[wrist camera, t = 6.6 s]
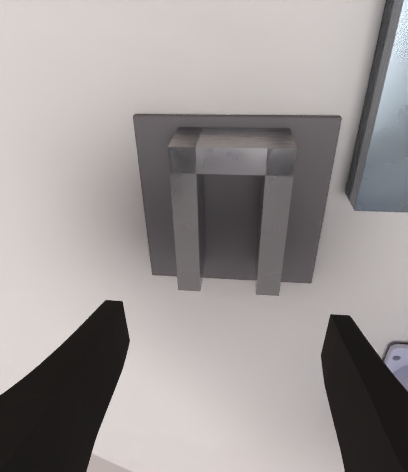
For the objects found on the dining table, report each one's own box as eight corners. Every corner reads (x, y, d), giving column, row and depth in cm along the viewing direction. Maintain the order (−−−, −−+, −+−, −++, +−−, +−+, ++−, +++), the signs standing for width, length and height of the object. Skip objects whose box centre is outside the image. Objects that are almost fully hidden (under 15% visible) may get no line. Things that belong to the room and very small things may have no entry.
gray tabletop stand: (275, 261, 22) (278, 295, 19) (186, 257, 22) (178, 289, 20) (289, 128, 17) (296, 148, 15) (179, 126, 18) (167, 146, 15)
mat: (310, 279, 22) (311, 283, 22) (153, 271, 23) (152, 274, 23) (339, 115, 17) (341, 118, 17) (135, 114, 18) (133, 116, 18)
